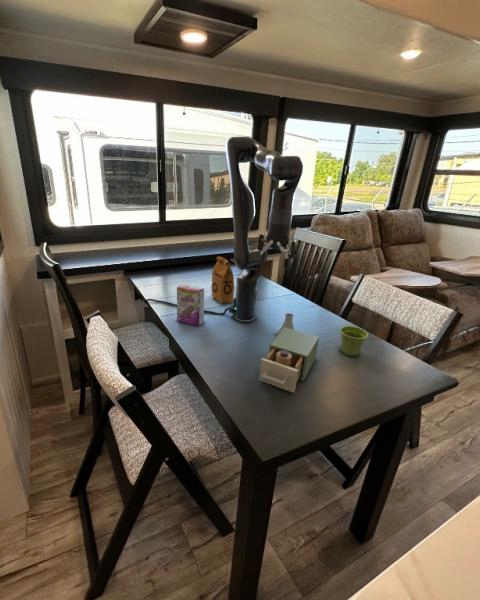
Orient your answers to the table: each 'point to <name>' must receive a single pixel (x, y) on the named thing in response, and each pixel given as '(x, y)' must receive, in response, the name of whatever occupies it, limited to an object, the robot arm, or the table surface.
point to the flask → (287, 322)
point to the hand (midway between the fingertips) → (274, 264)
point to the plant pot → (352, 339)
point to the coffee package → (222, 281)
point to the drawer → (281, 371)
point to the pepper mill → (284, 358)
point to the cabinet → (297, 346)
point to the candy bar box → (190, 304)
